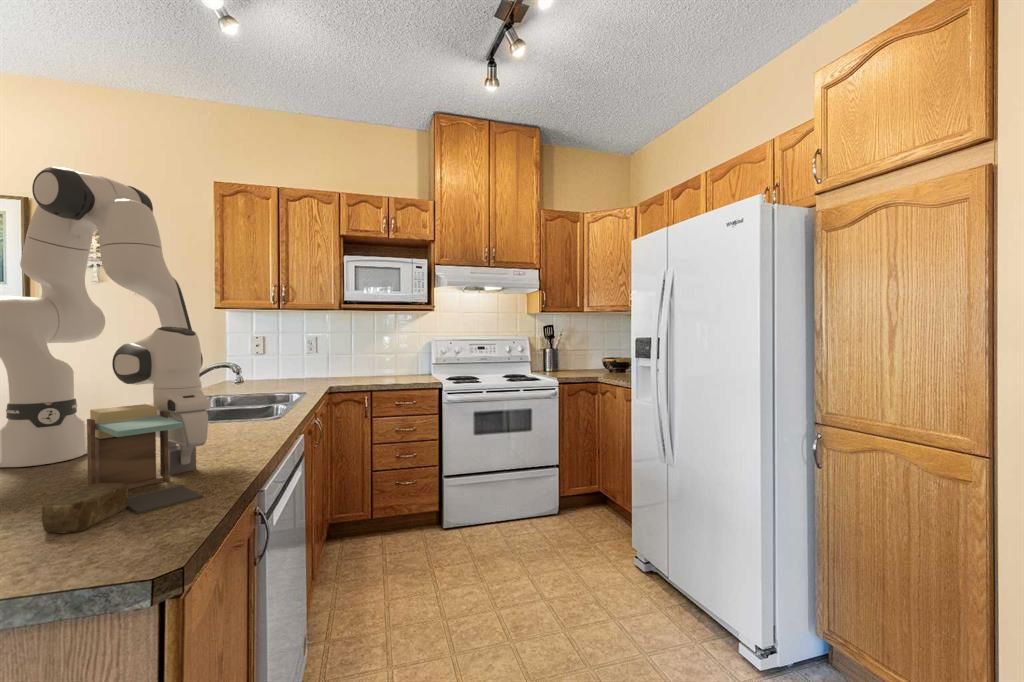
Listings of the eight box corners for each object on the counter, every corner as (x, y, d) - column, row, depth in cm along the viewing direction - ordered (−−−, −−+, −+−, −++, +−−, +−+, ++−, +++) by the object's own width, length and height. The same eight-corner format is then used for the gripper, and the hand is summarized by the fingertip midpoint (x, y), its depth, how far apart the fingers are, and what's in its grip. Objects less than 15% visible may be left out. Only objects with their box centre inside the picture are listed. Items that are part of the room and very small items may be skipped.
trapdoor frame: (77, 490, 92) (76, 416, 92) (157, 474, 103) (156, 407, 102) (89, 498, 88) (87, 420, 87) (170, 480, 98) (169, 411, 98)
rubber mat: (118, 501, 86) (118, 499, 86) (181, 487, 94) (181, 485, 94) (137, 514, 80) (137, 511, 80) (203, 497, 88) (203, 495, 88)
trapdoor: (85, 435, 93) (85, 410, 93) (149, 426, 101) (149, 403, 101) (116, 448, 82) (115, 420, 82) (184, 437, 91) (184, 412, 91)
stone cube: (161, 470, 105) (161, 448, 105) (186, 465, 109) (186, 444, 109) (170, 474, 102) (169, 451, 102) (196, 469, 106) (195, 447, 106)
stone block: (38, 536, 72) (37, 504, 72) (96, 509, 83) (95, 480, 83) (79, 535, 72) (79, 502, 72) (131, 507, 84) (131, 479, 84)
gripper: (143, 397, 109) (144, 457, 109) (180, 405, 97) (180, 472, 97) (175, 394, 114) (176, 451, 114) (213, 401, 102) (214, 465, 102)
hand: (178, 461), depth 106 cm, fingers closed on stone cube, 5 cm apart
